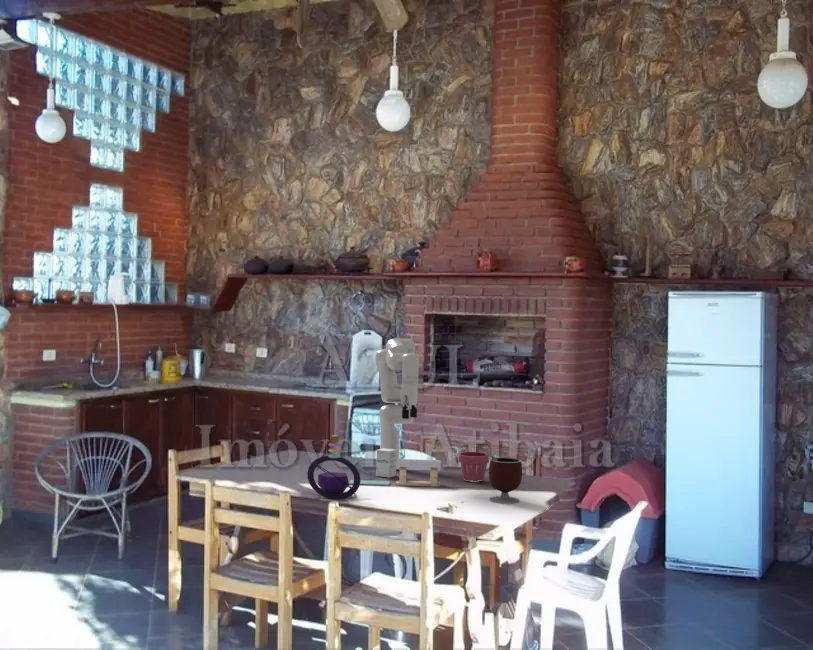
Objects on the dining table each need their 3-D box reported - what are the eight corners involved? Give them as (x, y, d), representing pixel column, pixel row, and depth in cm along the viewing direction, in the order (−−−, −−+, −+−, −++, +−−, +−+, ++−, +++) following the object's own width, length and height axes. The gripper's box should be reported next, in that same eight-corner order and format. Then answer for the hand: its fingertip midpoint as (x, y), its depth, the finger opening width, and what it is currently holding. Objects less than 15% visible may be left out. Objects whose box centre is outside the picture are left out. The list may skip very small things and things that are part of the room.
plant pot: (458, 483, 404) (459, 455, 404) (457, 477, 418) (458, 451, 418) (489, 484, 404) (490, 456, 404) (487, 478, 418) (488, 452, 418)
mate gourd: (518, 497, 374) (519, 450, 374) (523, 504, 360) (525, 455, 360) (482, 497, 374) (483, 450, 374) (486, 503, 360) (487, 455, 360)
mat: (350, 481, 401) (350, 479, 401) (389, 482, 401) (389, 481, 401) (349, 484, 393) (349, 483, 393) (389, 485, 393) (389, 484, 393)
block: (396, 469, 396) (396, 460, 396) (396, 467, 400) (396, 459, 400) (440, 470, 396) (440, 461, 396) (440, 469, 400) (440, 460, 400)
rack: (396, 482, 401) (396, 465, 401) (439, 483, 401) (440, 466, 401) (395, 485, 395) (396, 467, 395) (440, 486, 395) (440, 468, 395)
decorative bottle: (305, 499, 358) (307, 438, 358) (307, 489, 379) (309, 431, 379) (360, 500, 359) (362, 439, 359) (359, 490, 380) (361, 432, 380)
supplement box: (375, 476, 416) (376, 449, 416) (383, 474, 423) (383, 447, 423) (389, 478, 413) (389, 451, 413) (396, 475, 420) (397, 449, 419)
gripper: (409, 380, 414) (409, 416, 413) (395, 380, 398) (394, 418, 397) (424, 380, 411) (423, 417, 410) (410, 381, 395) (410, 419, 394)
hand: (409, 418), depth 404 cm, fingers open, 9 cm apart
